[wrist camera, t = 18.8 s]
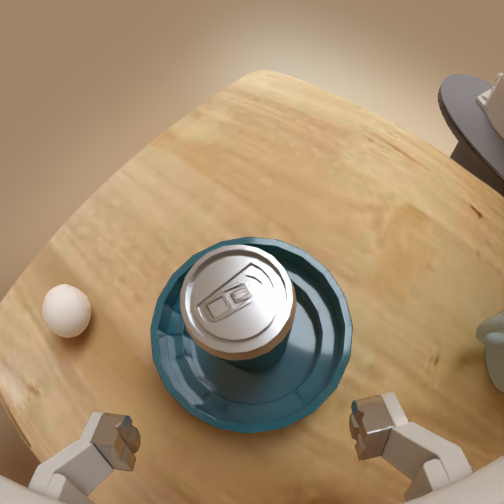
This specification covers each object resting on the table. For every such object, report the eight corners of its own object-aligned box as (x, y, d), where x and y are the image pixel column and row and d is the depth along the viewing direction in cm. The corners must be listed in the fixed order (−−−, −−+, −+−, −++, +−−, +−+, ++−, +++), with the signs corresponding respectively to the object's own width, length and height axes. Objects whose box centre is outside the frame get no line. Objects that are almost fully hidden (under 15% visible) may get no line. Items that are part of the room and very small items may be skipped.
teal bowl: (252, 232, 29) (248, 205, 25) (371, 333, 24) (390, 321, 20) (140, 337, 25) (116, 326, 21) (254, 457, 20) (249, 472, 16)
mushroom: (95, 287, 27) (67, 268, 23) (106, 332, 25) (76, 319, 21) (59, 305, 27) (29, 289, 22) (67, 348, 25) (35, 338, 20)
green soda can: (241, 384, 22) (210, 381, 11) (208, 327, 24) (156, 276, 14) (300, 349, 23) (322, 314, 12) (265, 295, 25) (256, 220, 14)
